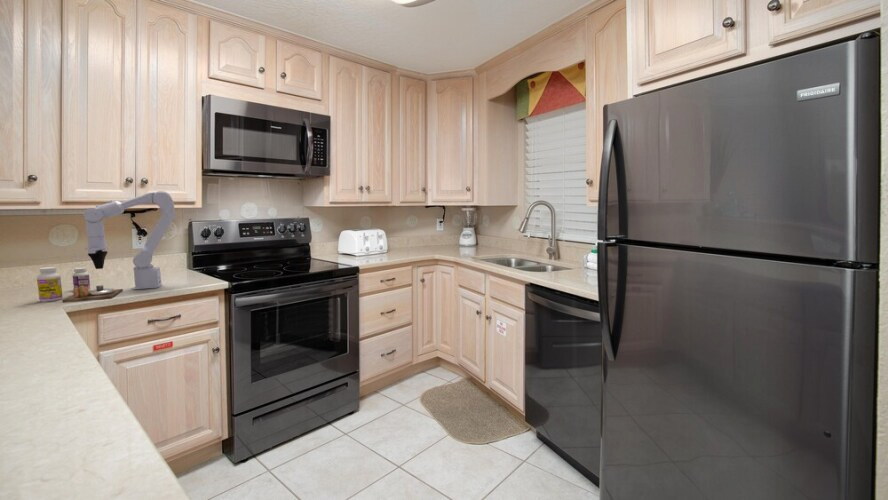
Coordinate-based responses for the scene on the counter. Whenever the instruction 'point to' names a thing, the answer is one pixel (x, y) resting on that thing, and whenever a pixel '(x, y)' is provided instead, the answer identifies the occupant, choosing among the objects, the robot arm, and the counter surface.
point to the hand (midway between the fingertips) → (99, 268)
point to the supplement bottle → (49, 285)
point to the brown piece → (95, 297)
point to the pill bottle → (81, 278)
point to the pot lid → (93, 291)
